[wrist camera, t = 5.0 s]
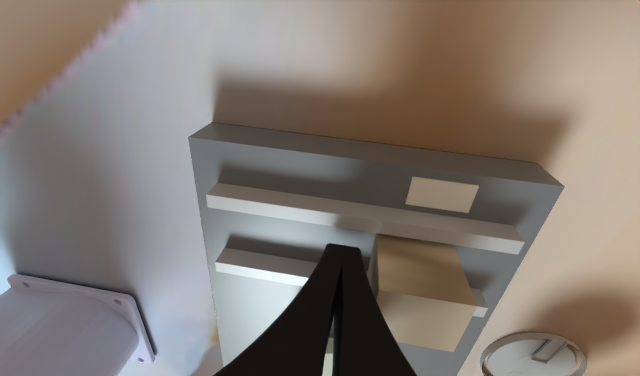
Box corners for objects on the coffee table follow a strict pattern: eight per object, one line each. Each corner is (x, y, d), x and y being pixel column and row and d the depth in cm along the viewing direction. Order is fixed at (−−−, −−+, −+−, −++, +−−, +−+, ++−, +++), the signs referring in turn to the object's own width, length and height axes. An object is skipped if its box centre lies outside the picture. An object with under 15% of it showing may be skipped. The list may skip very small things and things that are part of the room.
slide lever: (367, 272, 13) (367, 336, 10) (376, 230, 12) (378, 289, 9) (435, 283, 13) (453, 352, 10) (452, 241, 12) (477, 306, 9)
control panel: (238, 368, 23) (218, 419, 20) (211, 122, 13) (165, 151, 10) (417, 403, 22) (425, 464, 19) (536, 163, 12) (592, 210, 9)
